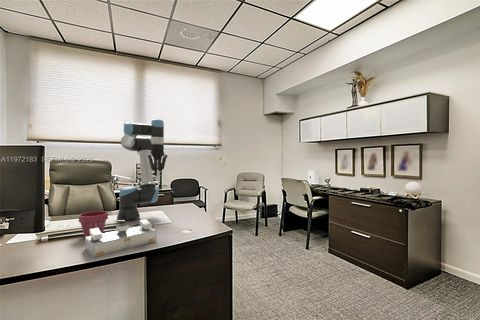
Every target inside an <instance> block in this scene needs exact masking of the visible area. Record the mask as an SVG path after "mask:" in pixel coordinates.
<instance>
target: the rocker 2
mask: <svg viewBox="0 0 480 320" xmlns="http://www.w3.org/2000/svg"><path fill="white" fill-rule="evenodd" d="M129 226H130V225H128V224H126V225H121V226H119V227H116V228H115V231H116V232H117V231H124V230H129Z"/></svg>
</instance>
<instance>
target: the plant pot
mask: <svg viewBox="0 0 480 320" xmlns="http://www.w3.org/2000/svg"><path fill="white" fill-rule="evenodd" d="M108 219H109V212H108V211H105V210H96V211H87V212H83V213H80V214H78V222H79V224H80V225H81V230H82V232H83V237H84V238H85V237H87V236H91V235H90V233H89V232H90V229H94V228H99V230H100V232H101V233H104V231H105V226H106V222H107V220H108Z"/></svg>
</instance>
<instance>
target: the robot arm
mask: <svg viewBox="0 0 480 320" xmlns="http://www.w3.org/2000/svg"><path fill="white" fill-rule="evenodd" d="M164 131H165V123H164V120H163V119H156V118H155V119H151V122H150V123H149V124H148V123H147V124H146V123H136V122H125V123H123V134H124V135H123V136H122V137H121V139H120V145H121V146H122V148H123V149H125V150H127V151H131V152H137V155H139V164H140V165H139V166H140V182H141V183H140V185H139V187H138V186H135V185H134V186H127V187H123V188H121V189H120V190H119V196H118V197H119V210H118V213H117V214H116V215H117V217H116V221H117V220H125V221H126V222H127V223H128V222H133V221H137V220H140V218H141V216H140V211H139V209H138V205H143V204H153V203H156V202H157V201H158V197H159V193H160V192H159V191H160V190H159V187H158V186H156V183H155V182H154V177H155V181H156V182H160V178H161V177H160V176H162V170H164V169H165V165H166V162H167V161H166V160H167V158H168V156H169V155H168V154H165V151H164V150H165V146H164V142H165V139H164V135H165V133H164ZM149 136H150V137H149ZM126 222H125V223H126Z"/></svg>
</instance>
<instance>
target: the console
mask: <svg viewBox="0 0 480 320" xmlns="http://www.w3.org/2000/svg"><path fill="white" fill-rule="evenodd" d="M84 238H85V239H84V241H85V242H84V244H85V245H84V247H85V250H86V252H87V253H88V254H89V256H90V257H91V258H96V257H97V258H98V257H100V256H104V255H108V253H109V254H112V252H113V253H115V252H120V251H124V250H129V249H131V248H134V247H135V248H136V247H140V246H143V245H147V244H151V243H155V242H157V229H156V228H154V227H153V228H149V229H144V228H143V227H142V226H137V227H132V228H129V230H124V231H117V232H116V230H113V231H107V232H103V233H102V239H98V240H93V239H92V237H91V236H87V237H84Z"/></svg>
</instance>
